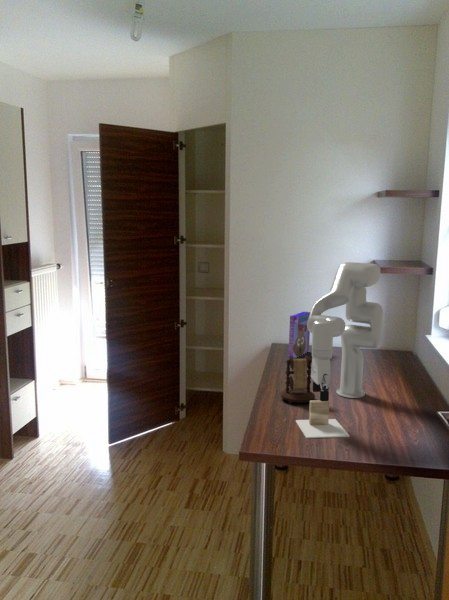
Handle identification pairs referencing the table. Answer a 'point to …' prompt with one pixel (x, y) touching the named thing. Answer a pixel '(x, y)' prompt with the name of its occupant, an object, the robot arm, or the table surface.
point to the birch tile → (318, 412)
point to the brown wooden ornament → (298, 381)
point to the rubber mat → (322, 429)
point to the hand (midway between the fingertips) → (320, 396)
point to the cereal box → (299, 334)
